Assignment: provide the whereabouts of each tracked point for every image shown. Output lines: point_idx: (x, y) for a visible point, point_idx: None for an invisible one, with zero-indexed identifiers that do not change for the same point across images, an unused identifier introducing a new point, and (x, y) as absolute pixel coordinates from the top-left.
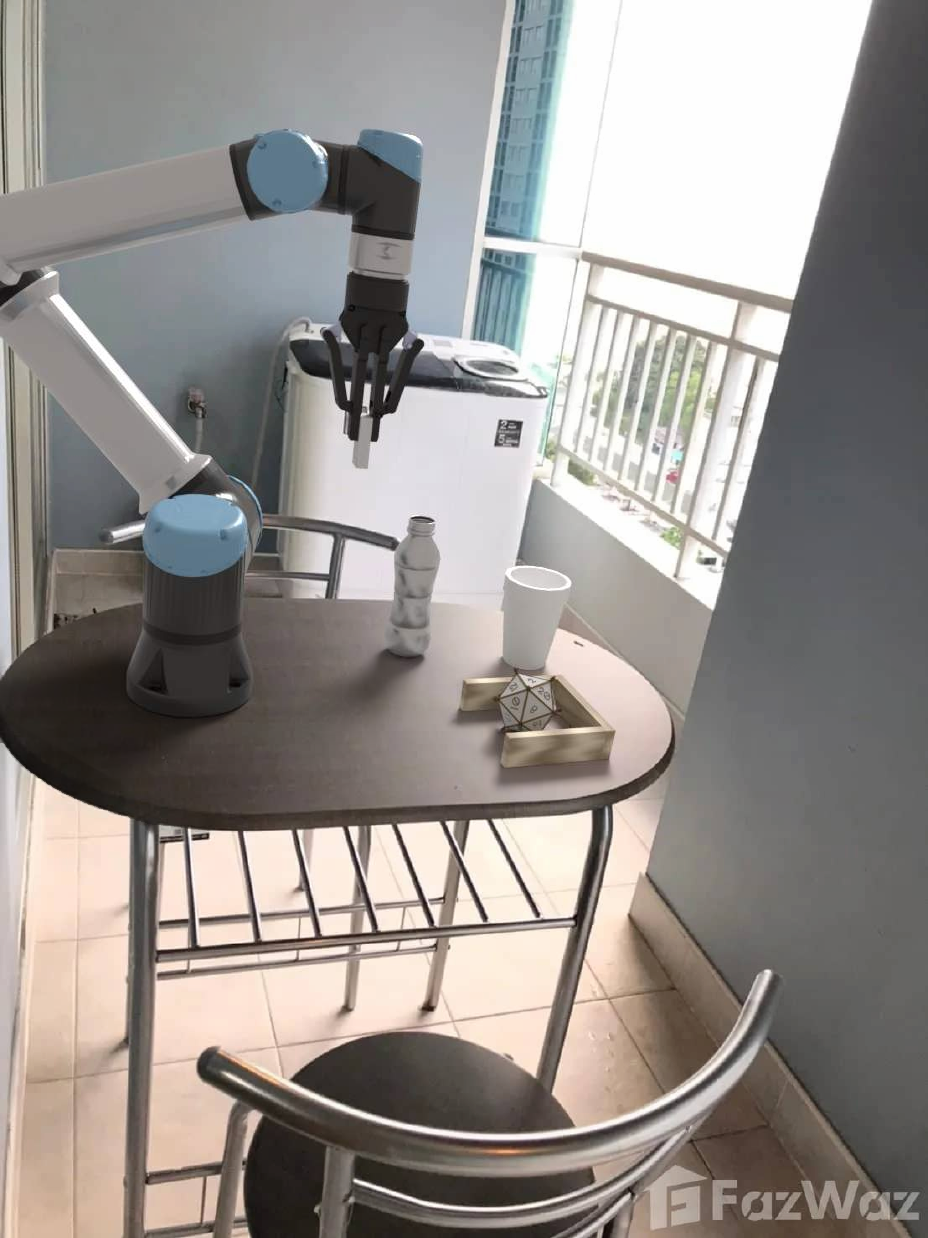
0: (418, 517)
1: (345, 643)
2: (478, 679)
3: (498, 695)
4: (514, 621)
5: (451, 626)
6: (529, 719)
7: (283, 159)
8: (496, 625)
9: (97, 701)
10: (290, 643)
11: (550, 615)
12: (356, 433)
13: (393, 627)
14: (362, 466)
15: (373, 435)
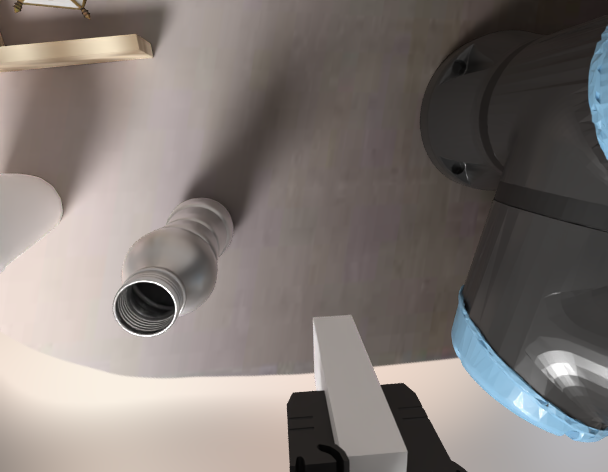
0: (152, 332)
1: (282, 247)
2: (114, 48)
3: (89, 15)
4: (15, 195)
5: None
6: None
7: None
8: (56, 316)
9: None
10: (353, 243)
11: None
12: (390, 406)
13: (223, 219)
14: (332, 318)
15: (311, 410)
